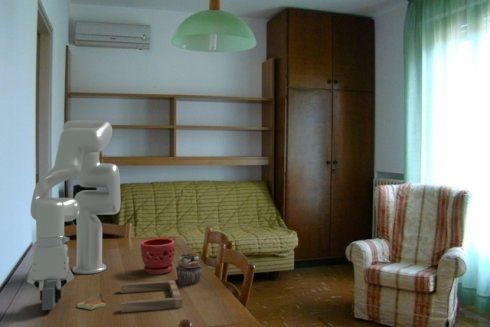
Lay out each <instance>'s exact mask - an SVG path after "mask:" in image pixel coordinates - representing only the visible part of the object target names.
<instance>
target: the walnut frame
mask: <svg viewBox="0 0 490 327" xmlns="http://www.w3.org/2000/svg"><path fill="white" fill-rule="evenodd" d="M154 291H169V292H170V293H169V294H170V295H171V297H167V298H166V297H165V298H155V299H154V298H153V299H141V300H128V301H121V302H120V312H121V313H131V312H143V311H154V310H167V309H168V310H169V309H177V308H178V309H180V308H183V298H182V295H181V294H180V291H179V288H178V286H177V283H176V281H175V279H174V280H173V279H172V280H159V281H146V282H143V281H142V282H129V283H121V284H120V294H126V293H140V292H154Z"/></svg>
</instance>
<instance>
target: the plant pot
mask: <svg viewBox="0 0 490 327" xmlns="http://www.w3.org/2000/svg"><path fill="white" fill-rule="evenodd" d="M175 249H176V245H175V240H174V239H171V238H164V237H161V238H151V239H146V240H144V241H142V242H140V252H141V254H140V255H141V259H142V263H143V264H144V266H143V270H144V271H145V273H147V274H152V275H162V274H166V273H169V272H171V271H172V270H174V267H175V266H174V264H173V262H174V261H173V260H174V259H175Z"/></svg>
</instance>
